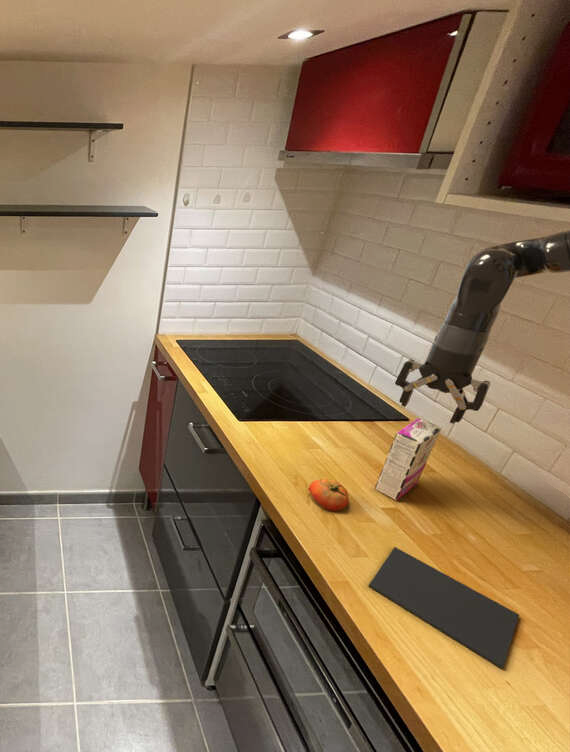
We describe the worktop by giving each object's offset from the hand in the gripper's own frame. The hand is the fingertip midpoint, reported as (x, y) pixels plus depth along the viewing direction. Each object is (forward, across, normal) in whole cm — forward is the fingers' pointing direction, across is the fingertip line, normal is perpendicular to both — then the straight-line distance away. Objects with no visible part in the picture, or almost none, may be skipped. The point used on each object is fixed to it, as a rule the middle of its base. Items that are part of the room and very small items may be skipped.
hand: (427, 413), depth 97 cm
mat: (+21, -15, +29) cm, 39 cm away
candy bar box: (+21, 0, 0) cm, 21 cm away
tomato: (+21, +8, +18) cm, 29 cm away
